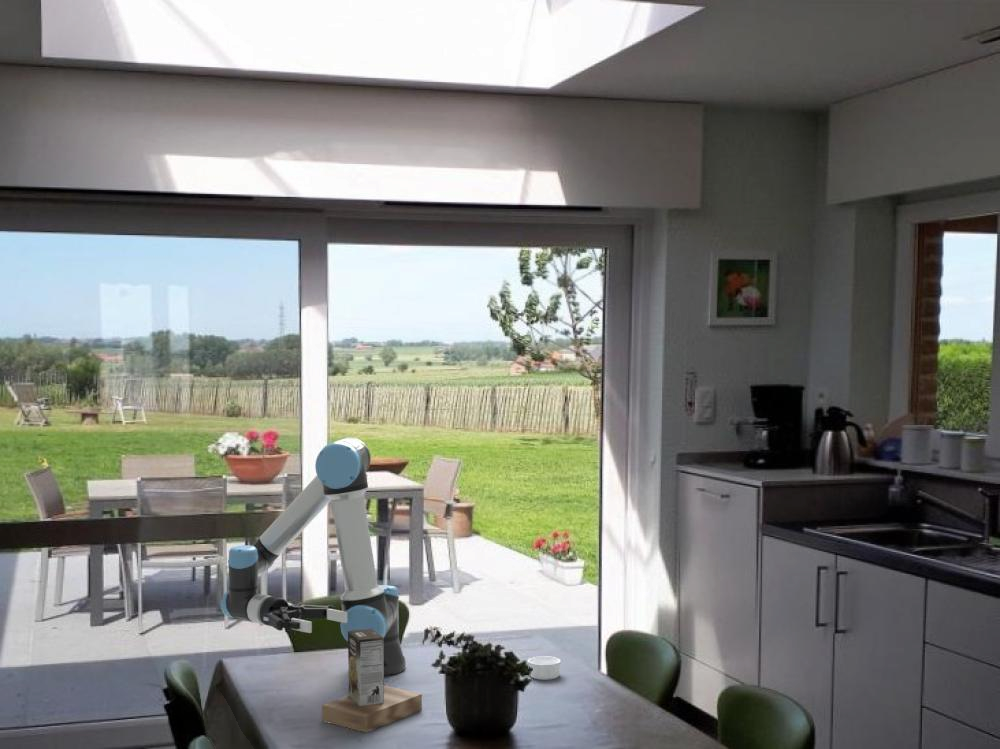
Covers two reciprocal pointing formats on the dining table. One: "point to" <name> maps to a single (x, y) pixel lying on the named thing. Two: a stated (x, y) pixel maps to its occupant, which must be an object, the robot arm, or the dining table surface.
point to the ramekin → (544, 667)
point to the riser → (372, 710)
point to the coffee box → (366, 667)
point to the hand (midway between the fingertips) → (328, 622)
